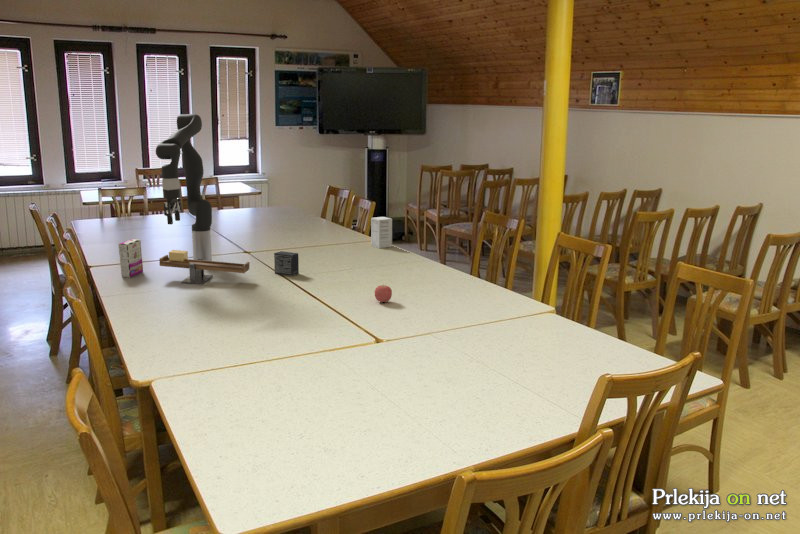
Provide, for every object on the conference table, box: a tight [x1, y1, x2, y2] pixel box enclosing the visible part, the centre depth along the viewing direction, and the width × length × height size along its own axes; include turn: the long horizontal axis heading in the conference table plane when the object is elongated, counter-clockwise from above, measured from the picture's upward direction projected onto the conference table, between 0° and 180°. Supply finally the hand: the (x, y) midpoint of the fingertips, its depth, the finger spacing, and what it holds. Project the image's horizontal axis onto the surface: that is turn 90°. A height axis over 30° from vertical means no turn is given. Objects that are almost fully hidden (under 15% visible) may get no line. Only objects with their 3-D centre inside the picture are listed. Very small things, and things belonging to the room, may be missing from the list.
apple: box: [374, 283, 393, 303], centre depth 290 cm, size 7×7×8 cm
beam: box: [158, 254, 251, 274], centre depth 317 cm, size 8×40×4 cm, turn 85°
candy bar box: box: [118, 238, 144, 278], centre depth 324 cm, size 11×5×16 cm, turn 168°
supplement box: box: [370, 216, 393, 249], centre depth 399 cm, size 10×9×17 cm
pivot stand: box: [180, 259, 214, 286], centre depth 318 cm, size 14×10×9 cm
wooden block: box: [168, 249, 189, 263], centre depth 317 cm, size 5×5×7 cm
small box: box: [273, 250, 300, 277], centre depth 333 cm, size 11×6×10 cm, turn 65°
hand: (174, 222), depth 316 cm, fingers open, 8 cm apart
